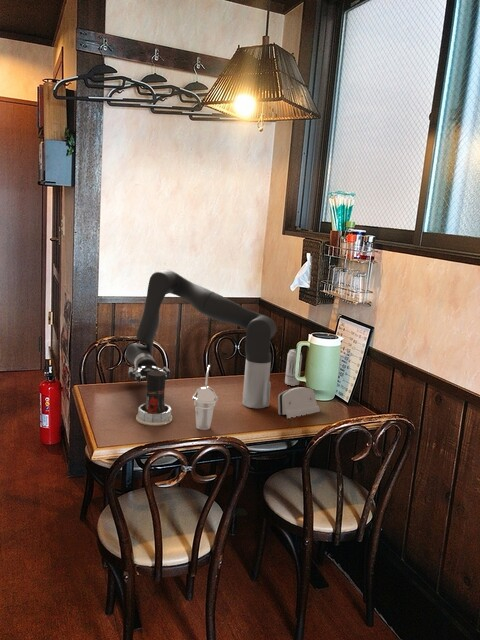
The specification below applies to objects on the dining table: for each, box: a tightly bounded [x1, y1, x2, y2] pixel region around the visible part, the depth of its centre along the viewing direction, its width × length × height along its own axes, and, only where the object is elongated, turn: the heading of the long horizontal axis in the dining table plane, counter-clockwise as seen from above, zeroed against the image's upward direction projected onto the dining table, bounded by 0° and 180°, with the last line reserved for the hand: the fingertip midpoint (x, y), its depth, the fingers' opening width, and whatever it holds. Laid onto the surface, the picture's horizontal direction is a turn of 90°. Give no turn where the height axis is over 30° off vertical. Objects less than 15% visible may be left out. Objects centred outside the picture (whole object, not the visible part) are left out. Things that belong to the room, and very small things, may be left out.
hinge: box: [277, 386, 321, 419], centre depth 198 cm, size 17×5×10 cm, turn 127°
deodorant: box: [145, 371, 166, 413], centre depth 180 cm, size 6×6×15 cm
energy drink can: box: [284, 348, 303, 386], centre depth 228 cm, size 6×6×15 cm
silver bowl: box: [135, 402, 173, 427], centre depth 181 cm, size 12×12×4 cm
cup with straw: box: [191, 364, 219, 431], centre depth 176 cm, size 8×9×20 cm
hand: (152, 379), depth 186 cm, fingers open, 8 cm apart
